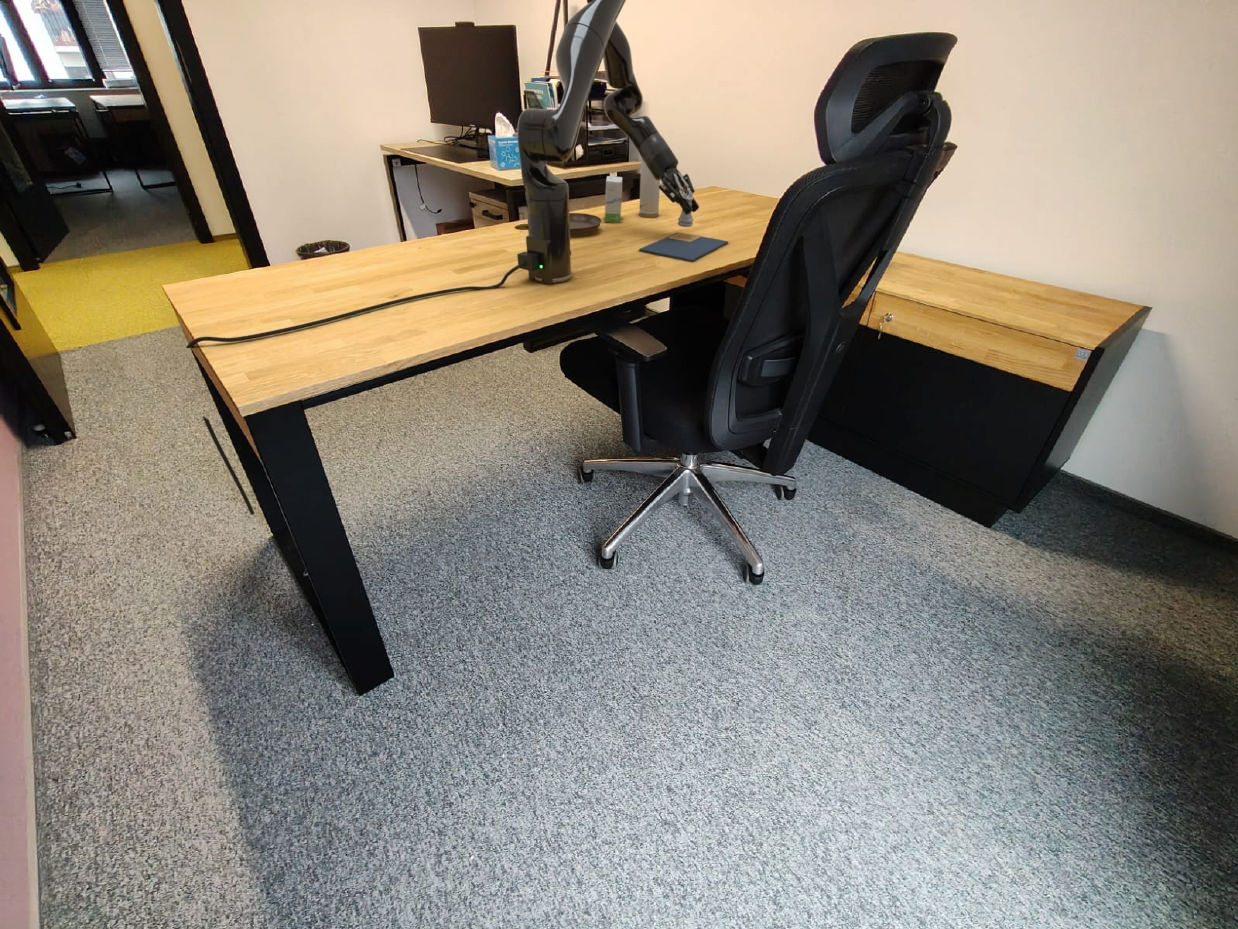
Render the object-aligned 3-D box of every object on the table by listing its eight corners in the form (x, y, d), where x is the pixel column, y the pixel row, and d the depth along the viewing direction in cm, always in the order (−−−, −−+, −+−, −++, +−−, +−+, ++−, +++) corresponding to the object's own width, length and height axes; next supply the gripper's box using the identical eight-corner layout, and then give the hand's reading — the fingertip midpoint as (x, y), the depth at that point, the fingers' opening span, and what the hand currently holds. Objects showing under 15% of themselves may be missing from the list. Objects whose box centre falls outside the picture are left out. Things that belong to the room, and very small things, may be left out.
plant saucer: (559, 241, 155) (559, 230, 153) (531, 227, 167) (530, 216, 165) (613, 233, 163) (613, 222, 161) (582, 220, 175) (582, 210, 173)
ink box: (605, 216, 181) (605, 175, 174) (621, 216, 181) (622, 176, 174) (604, 222, 174) (604, 180, 167) (621, 223, 174) (622, 181, 167)
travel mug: (637, 217, 181) (640, 146, 169) (640, 212, 186) (643, 143, 174) (657, 218, 180) (661, 147, 168) (659, 213, 185) (663, 144, 173)
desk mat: (692, 262, 143) (692, 258, 142) (639, 251, 149) (639, 247, 149) (728, 243, 158) (728, 240, 157) (678, 234, 164) (678, 231, 164)
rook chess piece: (682, 222, 160) (685, 191, 155) (696, 224, 158) (699, 194, 153) (674, 225, 157) (676, 194, 152) (688, 228, 155) (691, 196, 150)
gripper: (653, 149, 144) (691, 206, 146) (679, 143, 154) (714, 198, 156) (635, 169, 150) (671, 225, 152) (661, 163, 159) (695, 215, 161)
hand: (693, 211), depth 154 cm, fingers closed on rook chess piece, 3 cm apart
